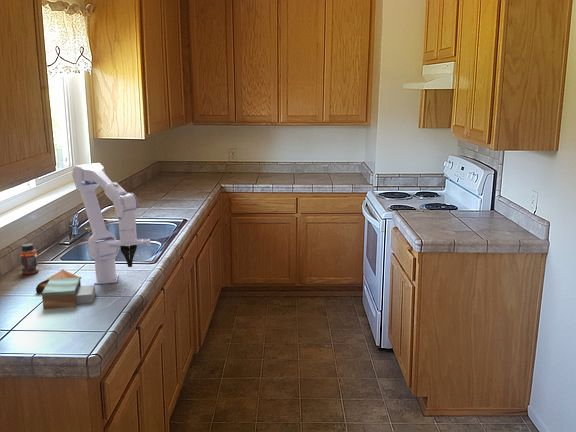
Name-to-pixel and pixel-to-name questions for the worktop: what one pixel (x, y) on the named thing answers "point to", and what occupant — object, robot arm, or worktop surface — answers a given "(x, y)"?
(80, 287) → the flat grey cuboid
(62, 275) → the sunglasses case
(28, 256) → the supplement bottle
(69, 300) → the overhang bridge
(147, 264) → the worktop surface
